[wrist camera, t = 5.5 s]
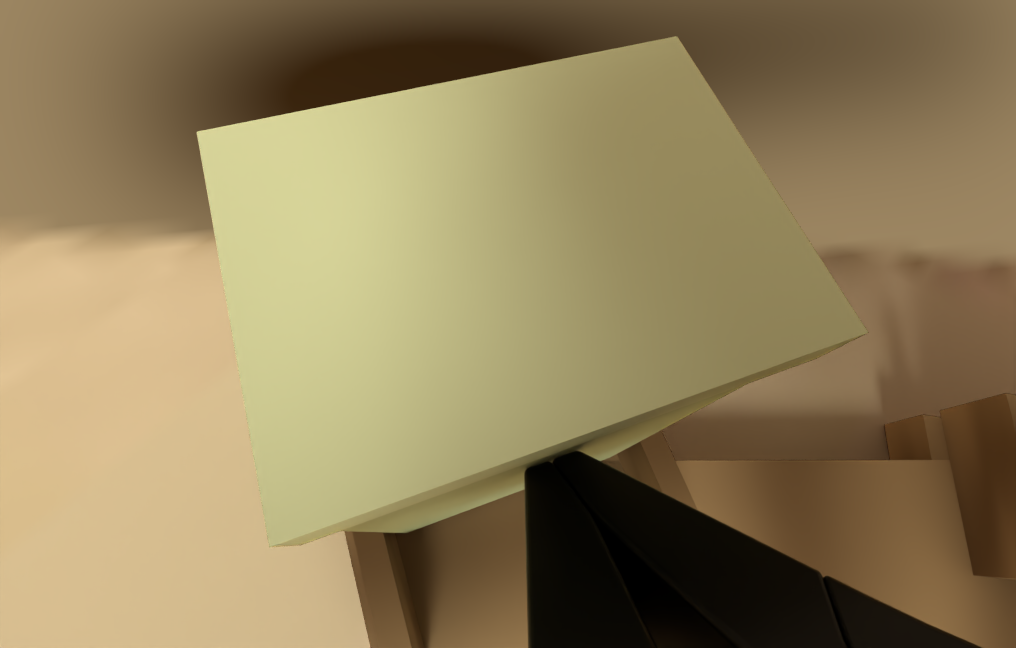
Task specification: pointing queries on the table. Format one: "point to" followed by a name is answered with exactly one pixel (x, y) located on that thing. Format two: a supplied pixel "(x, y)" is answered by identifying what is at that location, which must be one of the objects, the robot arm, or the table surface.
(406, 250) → the sage key
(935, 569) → the brown holder tray
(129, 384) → the table surface
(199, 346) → the table surface
